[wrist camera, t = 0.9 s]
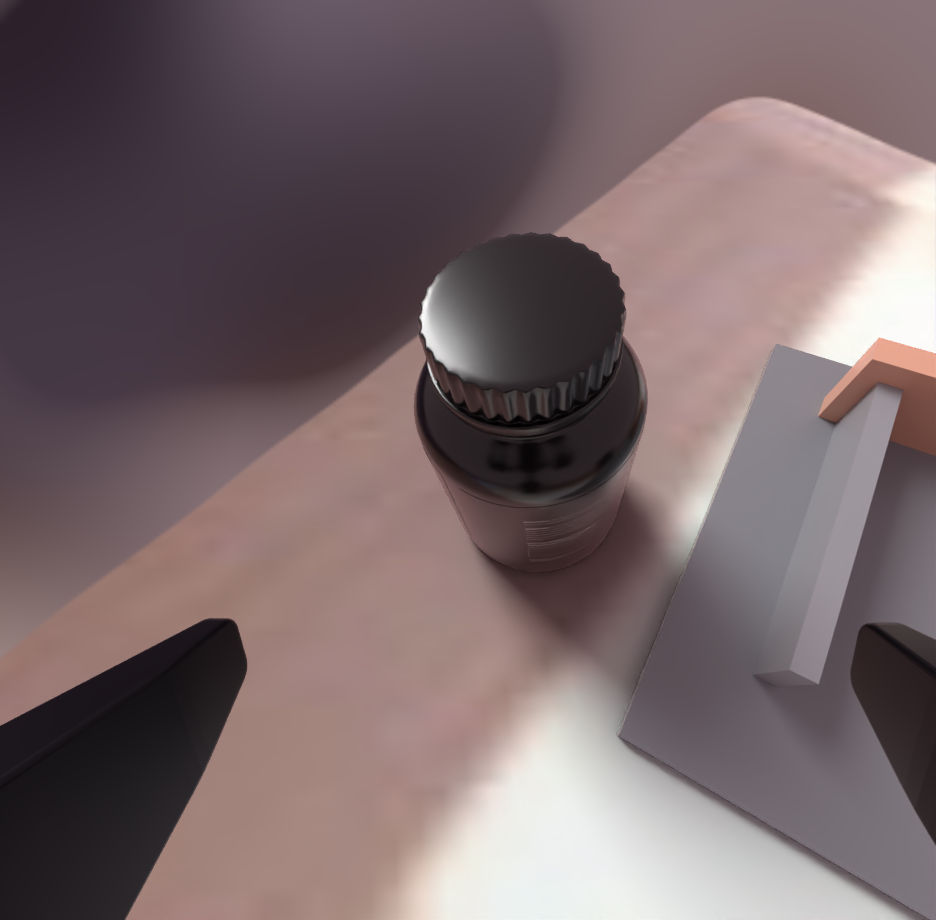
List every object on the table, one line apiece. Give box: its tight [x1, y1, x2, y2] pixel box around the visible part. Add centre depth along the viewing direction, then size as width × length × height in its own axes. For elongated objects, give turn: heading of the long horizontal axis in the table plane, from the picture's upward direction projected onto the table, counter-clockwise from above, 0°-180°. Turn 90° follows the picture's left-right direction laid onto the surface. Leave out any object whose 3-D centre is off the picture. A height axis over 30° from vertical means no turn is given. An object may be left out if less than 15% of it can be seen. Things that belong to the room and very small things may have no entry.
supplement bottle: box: [414, 232, 648, 572], centre depth 17 cm, size 7×7×12 cm
